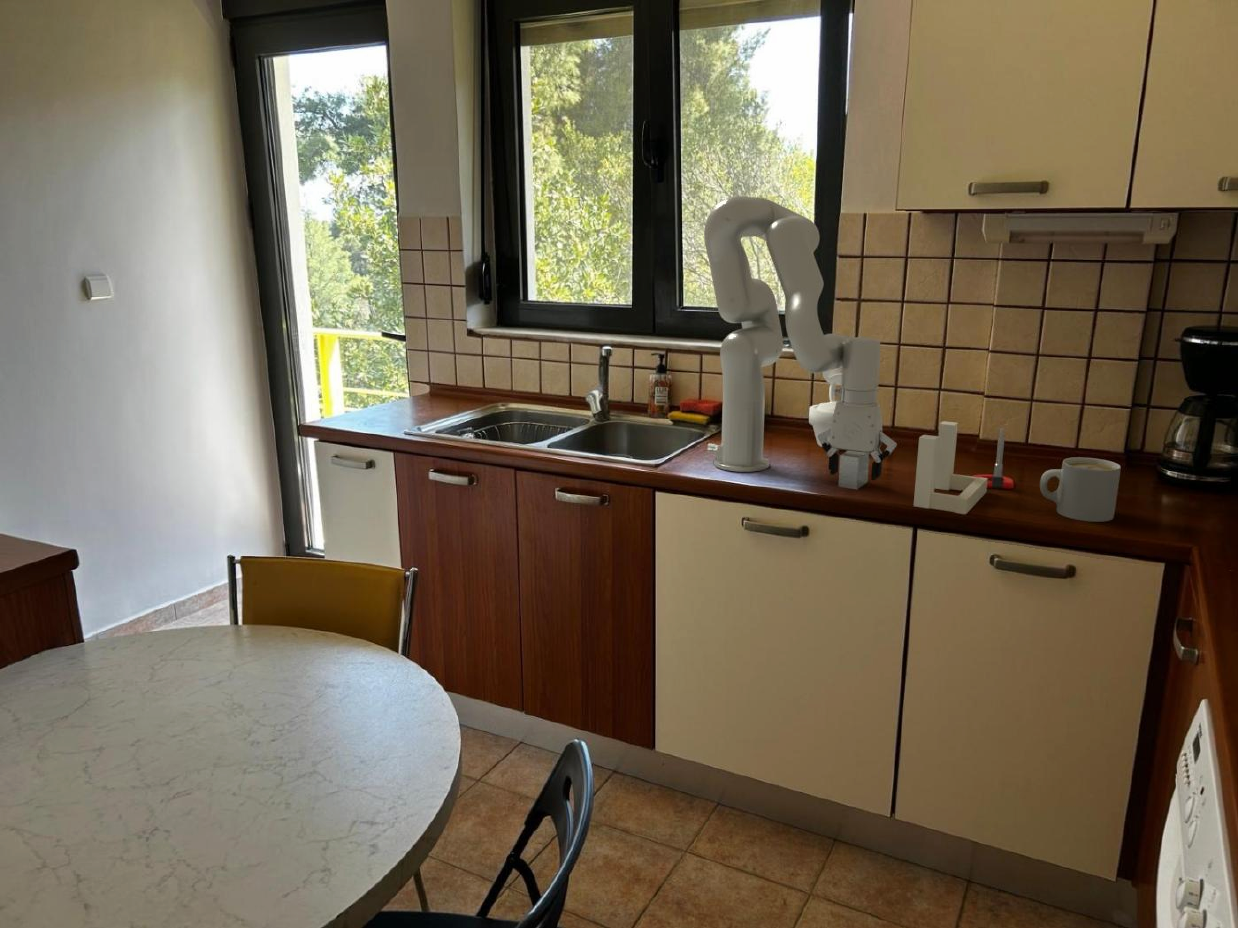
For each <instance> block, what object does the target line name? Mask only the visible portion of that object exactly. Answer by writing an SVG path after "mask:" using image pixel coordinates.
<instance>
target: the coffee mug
mask: <svg viewBox="0 0 1238 928" xmlns="http://www.w3.org/2000/svg"><path fill="white" fill-rule="evenodd" d="M1061 463H1062V464H1061V469H1060V468H1059V469H1049V470H1046V471H1045V472H1043V474H1042V475H1041V477H1040V480H1039V488H1040V492H1041V495H1042V496H1043V497H1044V498H1046V499H1048V500H1050V501H1052V502H1053V503H1055V504H1056V512H1057V513H1058V514H1059V515H1061V516H1062V517H1064V518H1065V517H1066V518H1069V519H1072V520H1075V521H1076V520H1077V521H1083V522H1093V523H1095V522H1097V523H1098V522H1109V521H1112V520H1113V519H1114V518H1115V511H1116V504H1117V497H1118V491H1119V483H1120V477H1121V476H1120V475H1121V469H1122V467H1121V465H1120V464H1118V463H1116V462H1114V461H1111V460H1107V459H1101V458H1100V459H1099V458H1094V457H1083V456H1082V457H1080V456H1078V457H1069V458H1064V459H1063V461H1062V462H1061ZM1052 478H1057V479H1058V486H1057V489H1056V490H1055V491H1050V490H1049V489H1048V482H1049V480H1050V479H1052Z"/></svg>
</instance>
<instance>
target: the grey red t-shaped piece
mask: <svg viewBox="0 0 1238 928" xmlns="http://www.w3.org/2000/svg"><path fill="white" fill-rule="evenodd" d="M1004 435H1005V428H1000V430H999V438H997V449H996V458H995V464H994V465H993V466H994V469H993V474H974V475H972V476H971V477H982V478H988V481H987V489H997V490H998V489H1000V490H1002V489H1006V490H1007V489H1008V490H1009V489H1010V490H1013V489H1014V487H1015V484H1014V480H1013V479H1012V478H1010V477H1007V476H1003V467H1004V465H1003V457H1004V446H1005V438H1004Z"/></svg>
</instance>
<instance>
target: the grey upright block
mask: <svg viewBox="0 0 1238 928" xmlns="http://www.w3.org/2000/svg"><path fill="white" fill-rule="evenodd" d="M869 465H870V453H865V452H856V451H848V450H845V452H843V453H841V454H840V455H839V469H838V472H839V473H838V474H839V475H838V487H839V488H845V489H851V490H858V489H859V488H861V487H863V486H864V485H865V484H866V483H868V482H869V481H868V480H869V479H868V478H869Z"/></svg>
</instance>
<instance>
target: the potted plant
mask: <svg viewBox="0 0 1238 928" xmlns="http://www.w3.org/2000/svg"><path fill="white" fill-rule="evenodd" d="M822 376H823V379H824V380H825V381H826V383H828V384H830V385H829V392H828V393H829V394H828V399H829V402H821V403H819V404H813V405H811V406H809V411H808V412H809V414H808V423H809V424H810V425H811V426H812V428H813V432H814V436H815V439H816V442H817V445H818V446H819V447H820V448H822V444H821V443H820V441H819V439H818V435H819V434H821V433H823V432H825V431H827V430H829V429H831V427H832V420H833V414H834V410H835V406H836V402H839V401H840V400H839V401H838V400H836V395H835V394H834V392H835V389H836V388H837V386H841V382H842V368H836V369H832V370H828V371H825V372H822ZM827 441H828V442H829V443H830V436H828V437H827Z"/></svg>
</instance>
